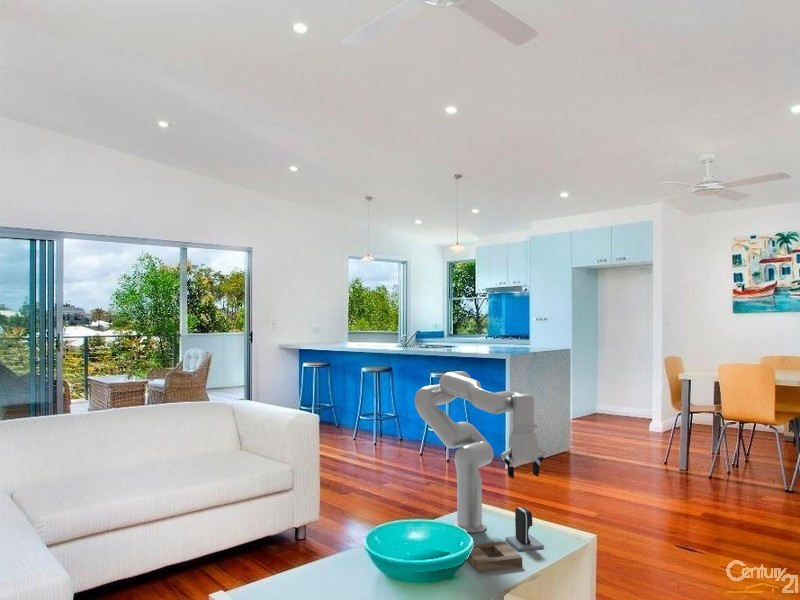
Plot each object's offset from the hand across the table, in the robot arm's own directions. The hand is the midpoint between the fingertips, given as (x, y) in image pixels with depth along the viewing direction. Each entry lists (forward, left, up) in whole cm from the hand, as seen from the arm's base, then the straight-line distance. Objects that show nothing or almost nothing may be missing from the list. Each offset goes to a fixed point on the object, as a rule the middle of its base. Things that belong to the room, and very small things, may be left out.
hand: (523, 476), depth 204 cm
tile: (0, 0, -24) cm, 24 cm away
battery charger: (0, 0, -23) cm, 23 cm away
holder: (+10, -17, -24) cm, 31 cm away
